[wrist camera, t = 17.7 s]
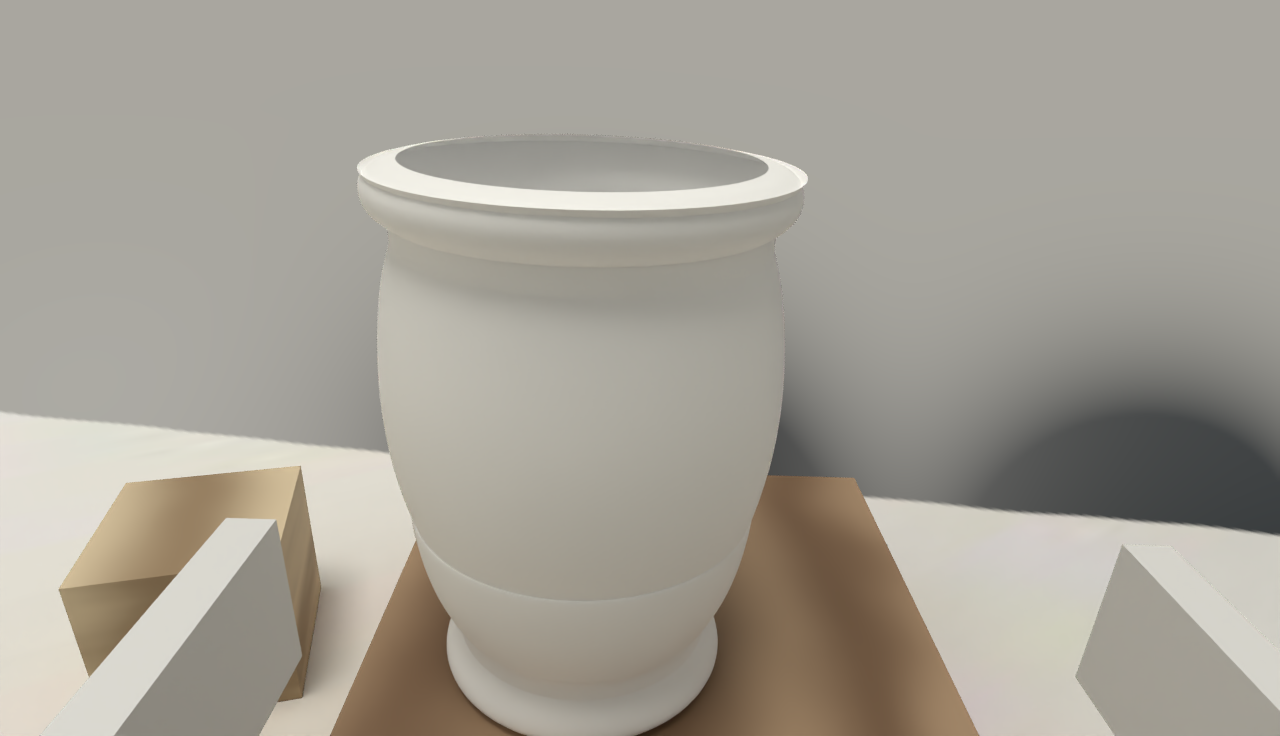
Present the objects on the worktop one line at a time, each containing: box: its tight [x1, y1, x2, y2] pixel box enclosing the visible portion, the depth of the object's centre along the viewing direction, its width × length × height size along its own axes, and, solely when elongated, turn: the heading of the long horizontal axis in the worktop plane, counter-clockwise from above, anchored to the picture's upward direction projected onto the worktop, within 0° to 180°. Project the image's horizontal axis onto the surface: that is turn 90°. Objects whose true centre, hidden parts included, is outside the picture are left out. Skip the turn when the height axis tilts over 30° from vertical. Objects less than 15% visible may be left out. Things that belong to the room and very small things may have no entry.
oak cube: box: [59, 466, 321, 702], centre depth 27 cm, size 6×6×6 cm
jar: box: [357, 134, 808, 736], centre depth 21 cm, size 11×10×15 cm
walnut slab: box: [330, 475, 979, 736], centre depth 26 cm, size 18×18×4 cm
